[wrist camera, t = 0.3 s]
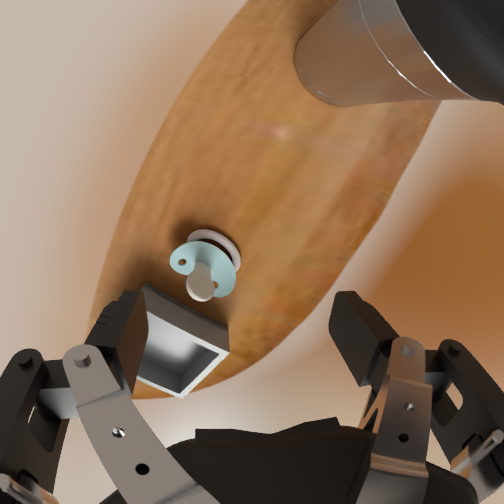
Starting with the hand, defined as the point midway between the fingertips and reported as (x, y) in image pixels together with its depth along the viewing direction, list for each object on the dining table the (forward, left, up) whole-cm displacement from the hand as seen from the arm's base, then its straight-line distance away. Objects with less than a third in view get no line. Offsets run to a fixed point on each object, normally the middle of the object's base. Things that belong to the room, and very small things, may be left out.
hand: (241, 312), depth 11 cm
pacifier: (+6, +2, -18) cm, 19 cm away
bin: (+19, +3, -18) cm, 26 cm away
